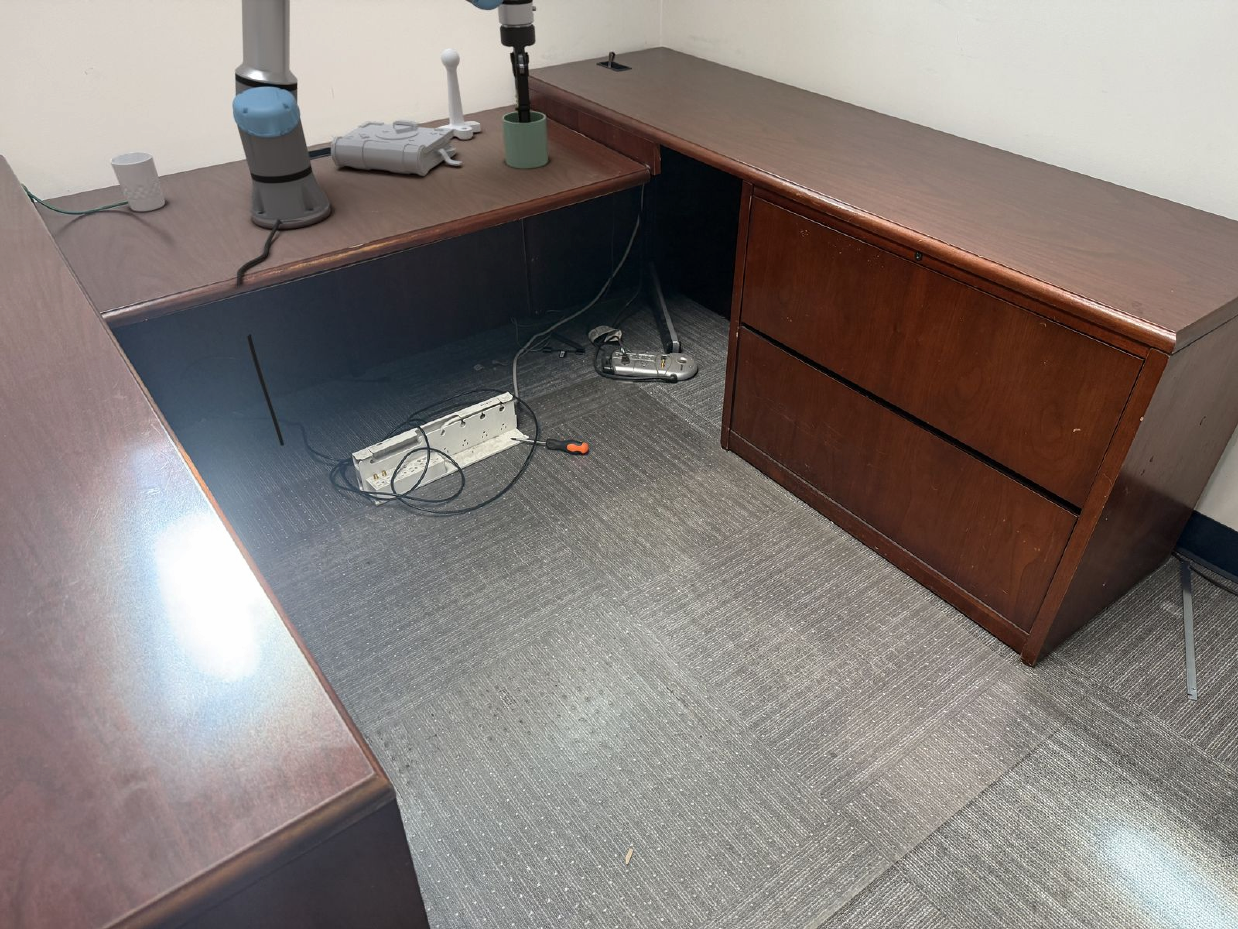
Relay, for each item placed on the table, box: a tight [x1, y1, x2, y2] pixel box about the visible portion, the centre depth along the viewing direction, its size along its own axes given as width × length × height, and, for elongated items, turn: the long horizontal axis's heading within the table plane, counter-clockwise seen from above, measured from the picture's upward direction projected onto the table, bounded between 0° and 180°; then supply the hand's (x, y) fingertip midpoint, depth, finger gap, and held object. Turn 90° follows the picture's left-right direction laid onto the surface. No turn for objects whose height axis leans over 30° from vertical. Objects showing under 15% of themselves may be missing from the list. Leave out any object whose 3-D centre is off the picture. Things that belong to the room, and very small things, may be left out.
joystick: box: [437, 48, 482, 140], centre depth 208 cm, size 11×8×20 cm
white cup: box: [109, 151, 166, 212], centre depth 175 cm, size 8×8×10 cm
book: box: [330, 119, 463, 177], centre depth 196 cm, size 19×28×8 cm
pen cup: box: [501, 110, 549, 169], centre depth 196 cm, size 10×10×10 cm
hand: (525, 136), depth 195 cm, fingers closed on marker, 3 cm apart
